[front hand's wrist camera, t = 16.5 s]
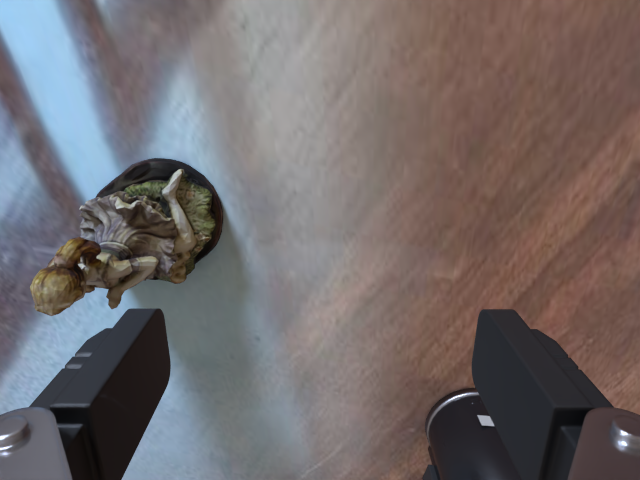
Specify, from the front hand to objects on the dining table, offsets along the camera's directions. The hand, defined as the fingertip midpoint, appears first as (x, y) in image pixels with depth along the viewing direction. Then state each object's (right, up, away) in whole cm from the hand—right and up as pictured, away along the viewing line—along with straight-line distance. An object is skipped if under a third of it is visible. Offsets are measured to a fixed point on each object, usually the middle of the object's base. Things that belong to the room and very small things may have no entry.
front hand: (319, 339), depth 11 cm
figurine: (-14, +4, +28) cm, 32 cm away
